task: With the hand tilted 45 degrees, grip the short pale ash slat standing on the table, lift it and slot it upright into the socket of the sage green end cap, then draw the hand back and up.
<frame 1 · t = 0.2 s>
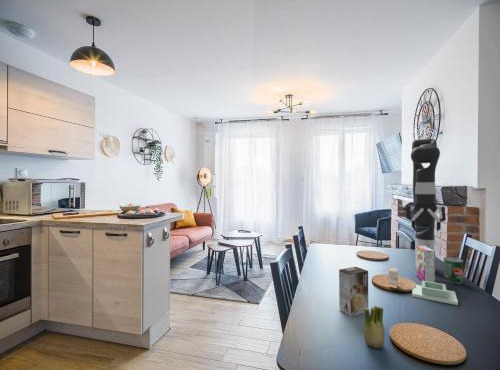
hand: (425, 229, 119), 29 cm above the table, tool pointing down, fingers open, 8 cm apart
coffee box: (353, 311, 106), on the table
fennel bulb: (374, 346, 84), on the table
ash slat: (393, 286, 131), on the table
canned tomato: (453, 281, 138), on the table
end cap: (433, 295, 121), on the table
candy bar box: (425, 280, 139), on the table
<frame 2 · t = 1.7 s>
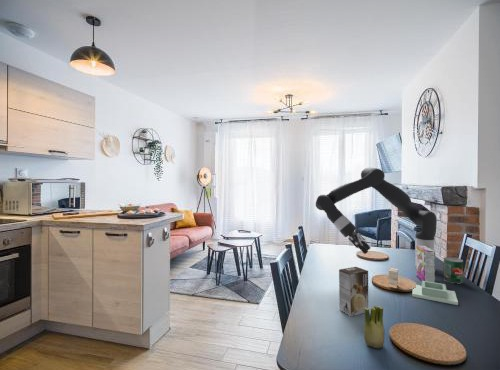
hand: (368, 251, 136), 16 cm above the table, tool tilted 45°, fingers open, 8 cm apart
nothing on the table moved.
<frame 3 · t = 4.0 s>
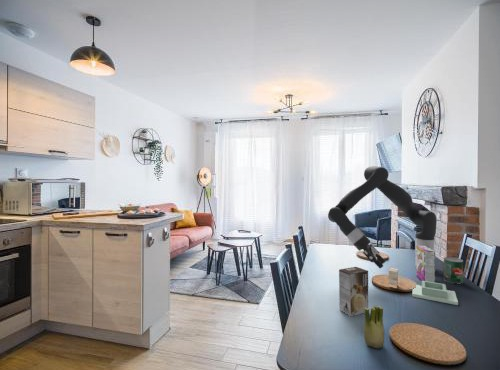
hand: (383, 264, 133), 10 cm above the table, tool tilted 45°, fingers open, 8 cm apart
nothing on the table moved.
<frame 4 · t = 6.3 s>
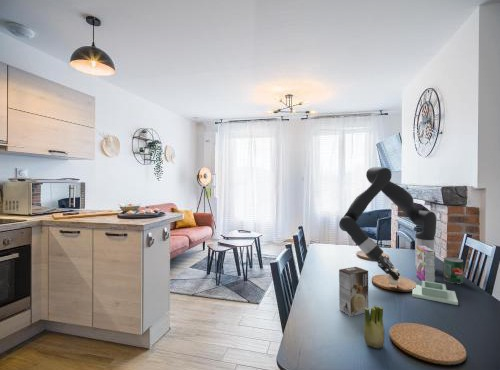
hand: (397, 277, 130), 5 cm above the table, tool tilted 45°, fingers closed on ash slat, 4 cm apart
ash slat: (393, 286, 131), on the table, touching gripper
everything else where it was.
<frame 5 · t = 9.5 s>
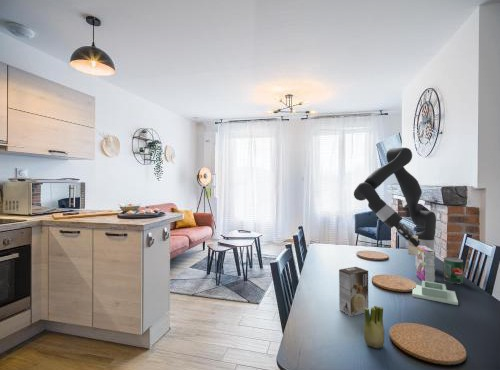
hand: (418, 244, 124), 22 cm above the table, tool tilted 45°, fingers closed on ash slat, 4 cm apart
ash slat: (413, 253, 126), point 17 cm above the table, touching gripper
everything else where it was.
when the fingers open (7 cm above the table, at t = 12.9 s): ash slat drops 1 cm, resting on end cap.
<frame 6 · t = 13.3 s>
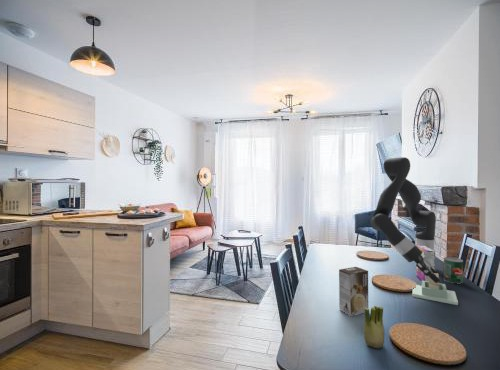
hand: (437, 279, 120), 7 cm above the table, tool tilted 45°, fingers open, 7 cm apart
ash slat: (433, 292, 121), point 1 cm above the table, touching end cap
everything else where it was.
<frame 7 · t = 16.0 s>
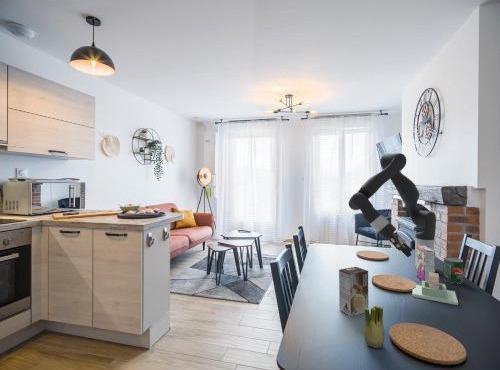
hand: (410, 253, 125), 17 cm above the table, tool tilted 45°, fingers open, 8 cm apart
nothing on the table moved.
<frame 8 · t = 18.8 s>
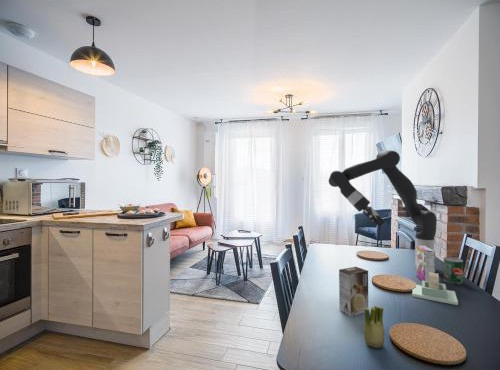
hand: (382, 224, 139), 29 cm above the table, tool tilted 45°, fingers open, 8 cm apart
nothing on the table moved.
at the end: ash slat 0.1 cm off-centre on the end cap, point 1.2 cm above the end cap's base; ash slat tilted 0°; the gripper is holding nothing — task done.
